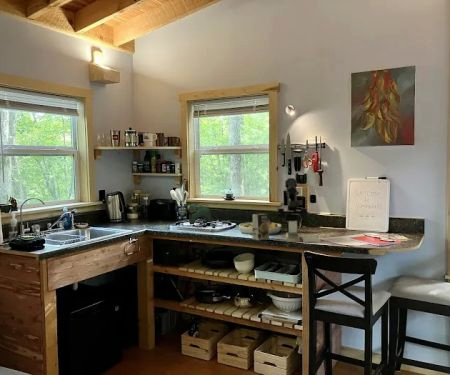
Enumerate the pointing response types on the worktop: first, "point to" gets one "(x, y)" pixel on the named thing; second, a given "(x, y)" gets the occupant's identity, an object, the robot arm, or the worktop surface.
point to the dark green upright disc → (199, 213)
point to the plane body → (292, 237)
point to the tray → (311, 238)
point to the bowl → (248, 227)
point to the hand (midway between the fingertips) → (292, 223)
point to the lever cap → (292, 226)
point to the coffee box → (260, 226)
